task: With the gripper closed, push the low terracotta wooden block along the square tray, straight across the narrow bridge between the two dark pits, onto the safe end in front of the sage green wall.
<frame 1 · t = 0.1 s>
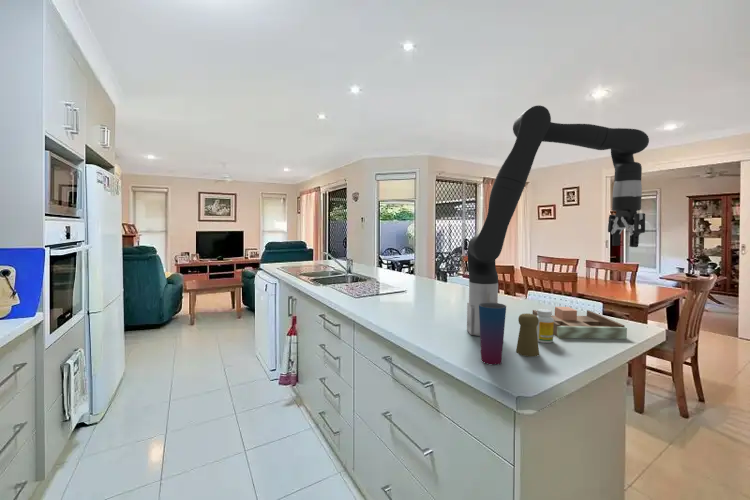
hand: (624, 246, 111), 29 cm above the counter, tool pointing down, fingers open, 8 cm apart
block: (565, 318, 127), point 2 cm above the counter, touching square tray
square tray: (575, 328, 120), on the counter
supplement bottle: (543, 341, 108), on the counter
cork: (527, 353, 97), on the counter
cup: (491, 362, 91), on the counter
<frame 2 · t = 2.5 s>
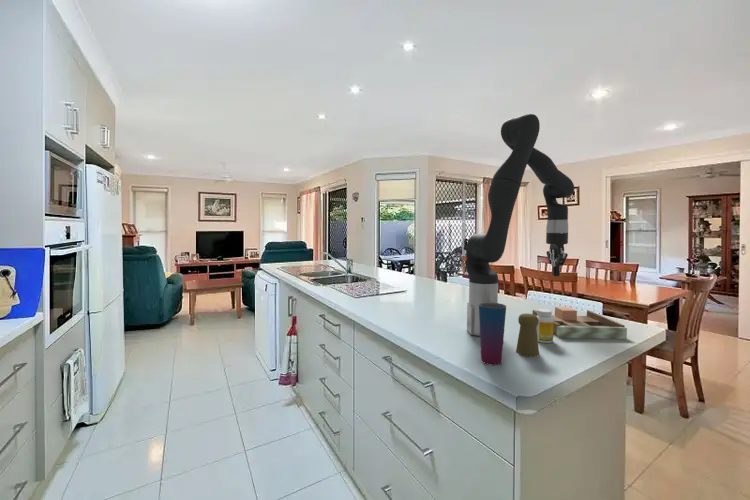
hand: (555, 276, 135), 16 cm above the counter, tool pointing down, fingers closed
nothing on the counter moved.
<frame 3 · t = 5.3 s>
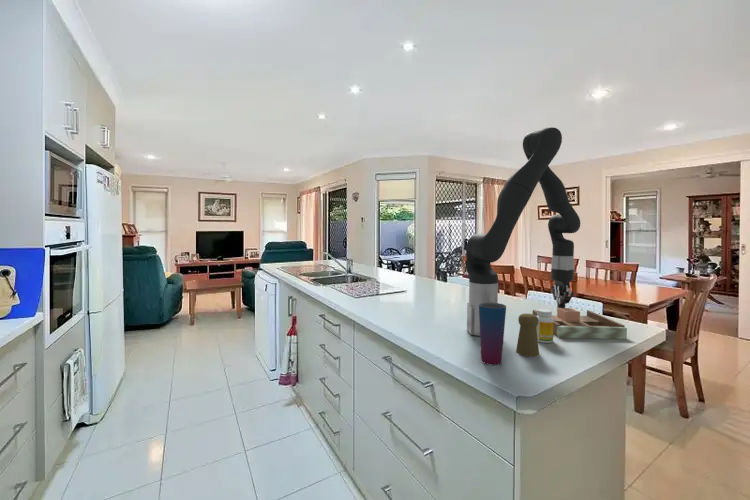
hand: (561, 313, 130), 3 cm above the counter, tool pointing down, fingers closed
block: (568, 319, 125), point 2 cm above the counter, touching gripper, square tray
everything else where it was.
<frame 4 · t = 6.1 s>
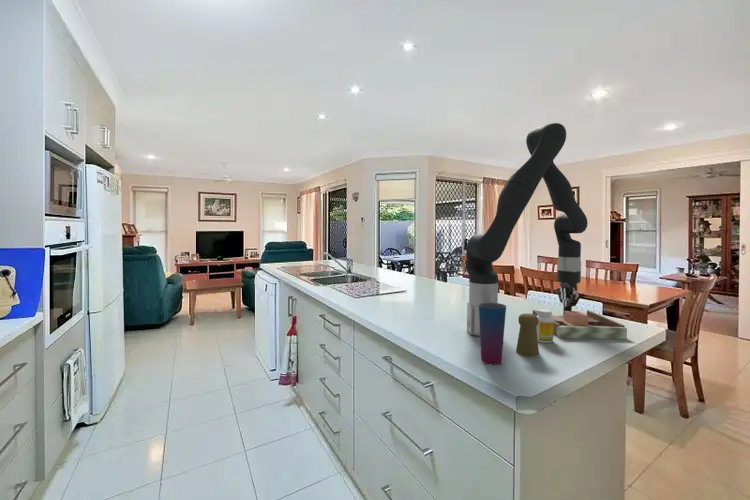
hand: (567, 316, 125), 3 cm above the counter, tool pointing down, fingers closed
block: (575, 322, 120), point 2 cm above the counter, touching gripper, square tray
everything else where it was.
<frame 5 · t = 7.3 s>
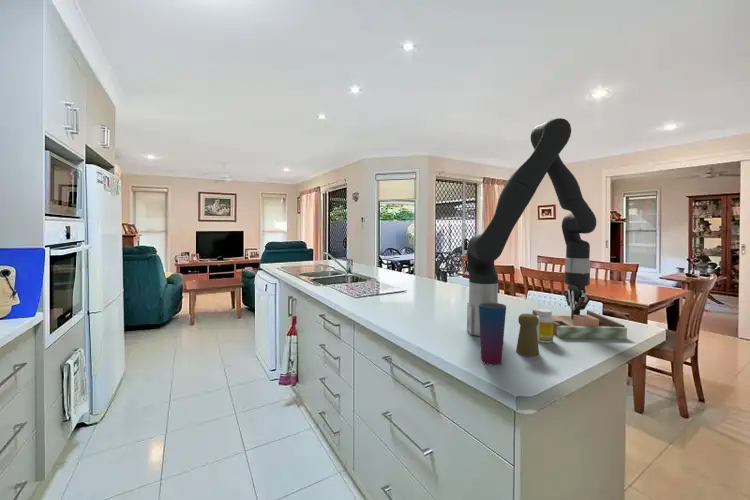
hand: (575, 320, 120), 3 cm above the counter, tool pointing down, fingers closed
block: (585, 327, 115), point 2 cm above the counter, touching square tray
everything else where it was.
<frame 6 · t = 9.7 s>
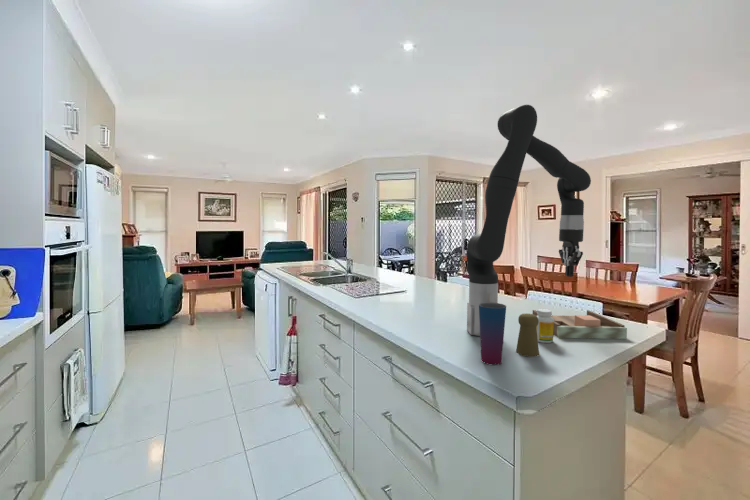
hand: (569, 276, 124), 18 cm above the counter, tool pointing down, fingers closed
nothing on the counter moved.
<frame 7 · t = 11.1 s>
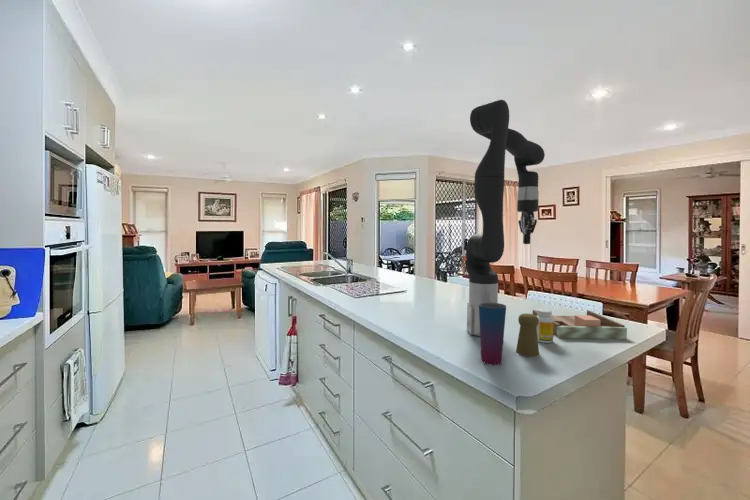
hand: (526, 243, 134), 29 cm above the counter, tool pointing down, fingers closed
nothing on the counter moved.
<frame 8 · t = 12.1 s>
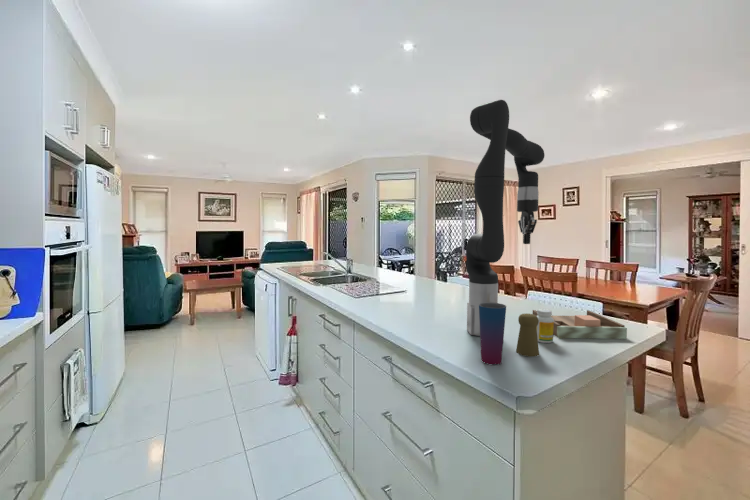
hand: (526, 243, 134), 29 cm above the counter, tool pointing down, fingers closed
nothing on the counter moved.
at the end: block 0.9 cm from the target spot, point 2.0 cm above the counter; block tilted 0° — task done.
